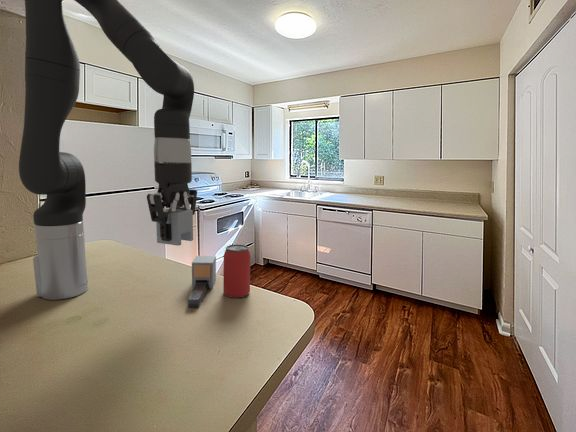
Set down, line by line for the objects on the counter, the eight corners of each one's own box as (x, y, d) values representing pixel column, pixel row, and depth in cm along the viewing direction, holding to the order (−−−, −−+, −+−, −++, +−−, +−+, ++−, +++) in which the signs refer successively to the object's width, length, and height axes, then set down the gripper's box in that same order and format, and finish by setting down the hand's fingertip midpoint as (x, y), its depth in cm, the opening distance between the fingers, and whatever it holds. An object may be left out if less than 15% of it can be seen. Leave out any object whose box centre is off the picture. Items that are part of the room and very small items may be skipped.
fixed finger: (191, 289, 81) (191, 263, 80) (196, 280, 87) (196, 255, 86) (212, 289, 82) (212, 263, 80) (215, 280, 87) (215, 256, 86)
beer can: (244, 300, 76) (245, 252, 74) (219, 297, 77) (219, 249, 75) (253, 289, 82) (254, 245, 80) (229, 286, 84) (229, 242, 81)
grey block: (178, 245, 68) (177, 213, 66) (155, 242, 69) (154, 211, 68) (193, 240, 72) (192, 210, 71) (171, 237, 74) (170, 207, 73)
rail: (187, 307, 71) (187, 299, 71) (201, 280, 87) (201, 273, 86) (198, 307, 71) (198, 299, 71) (210, 280, 87) (210, 273, 87)
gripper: (180, 160, 76) (181, 229, 79) (133, 159, 62) (137, 243, 65) (207, 161, 73) (207, 232, 76) (164, 160, 60) (167, 247, 63)
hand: (175, 237), depth 71 cm, fingers closed on grey block, 5 cm apart
